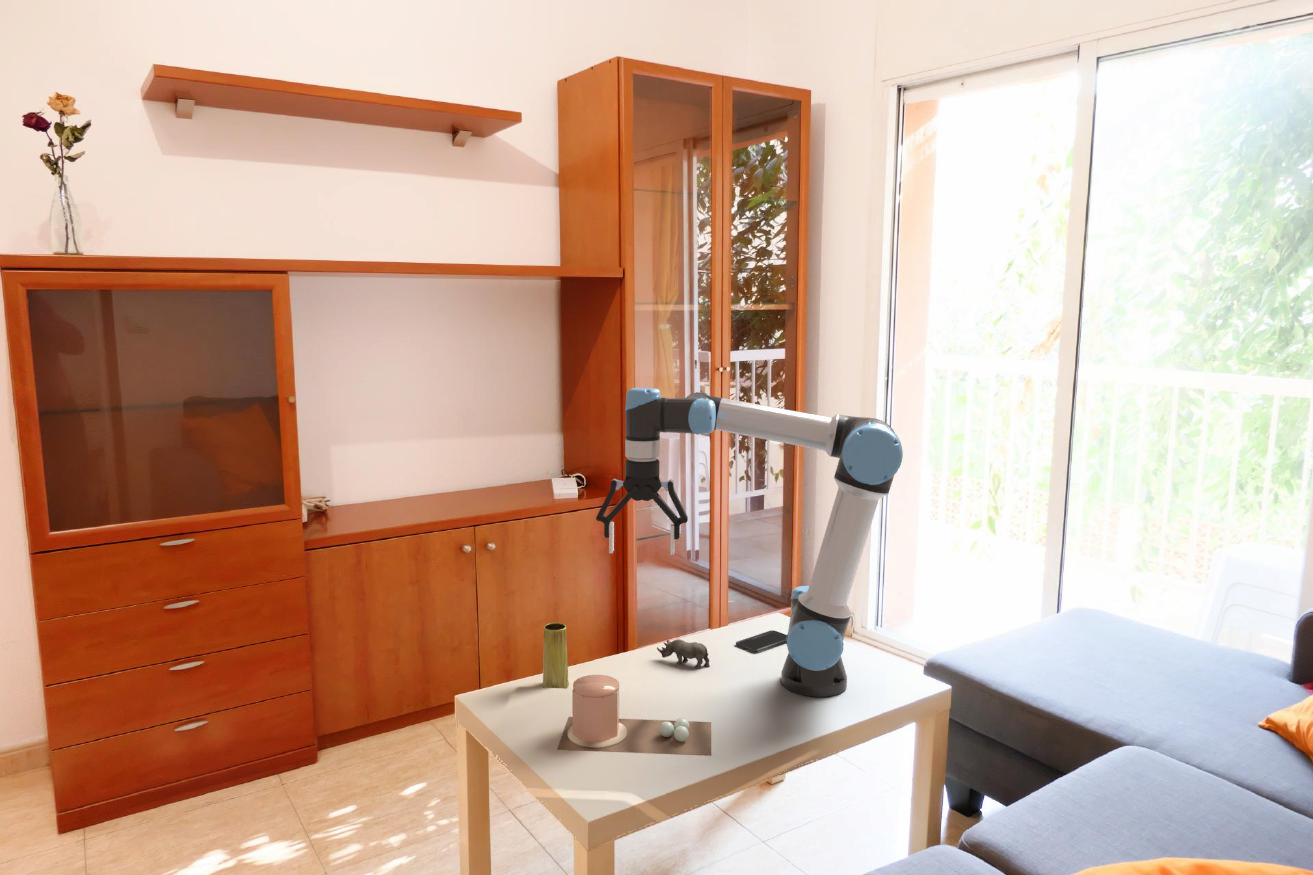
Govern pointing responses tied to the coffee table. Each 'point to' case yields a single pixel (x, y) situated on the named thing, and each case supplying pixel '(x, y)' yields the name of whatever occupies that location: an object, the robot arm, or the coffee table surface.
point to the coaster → (611, 742)
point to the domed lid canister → (595, 708)
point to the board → (651, 739)
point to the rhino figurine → (686, 652)
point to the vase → (555, 656)
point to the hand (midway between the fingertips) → (641, 552)
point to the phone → (762, 642)
